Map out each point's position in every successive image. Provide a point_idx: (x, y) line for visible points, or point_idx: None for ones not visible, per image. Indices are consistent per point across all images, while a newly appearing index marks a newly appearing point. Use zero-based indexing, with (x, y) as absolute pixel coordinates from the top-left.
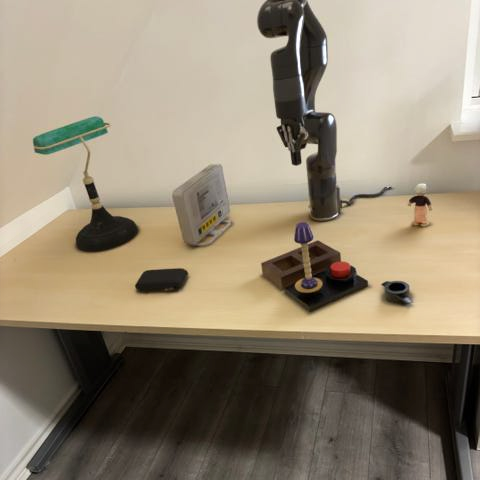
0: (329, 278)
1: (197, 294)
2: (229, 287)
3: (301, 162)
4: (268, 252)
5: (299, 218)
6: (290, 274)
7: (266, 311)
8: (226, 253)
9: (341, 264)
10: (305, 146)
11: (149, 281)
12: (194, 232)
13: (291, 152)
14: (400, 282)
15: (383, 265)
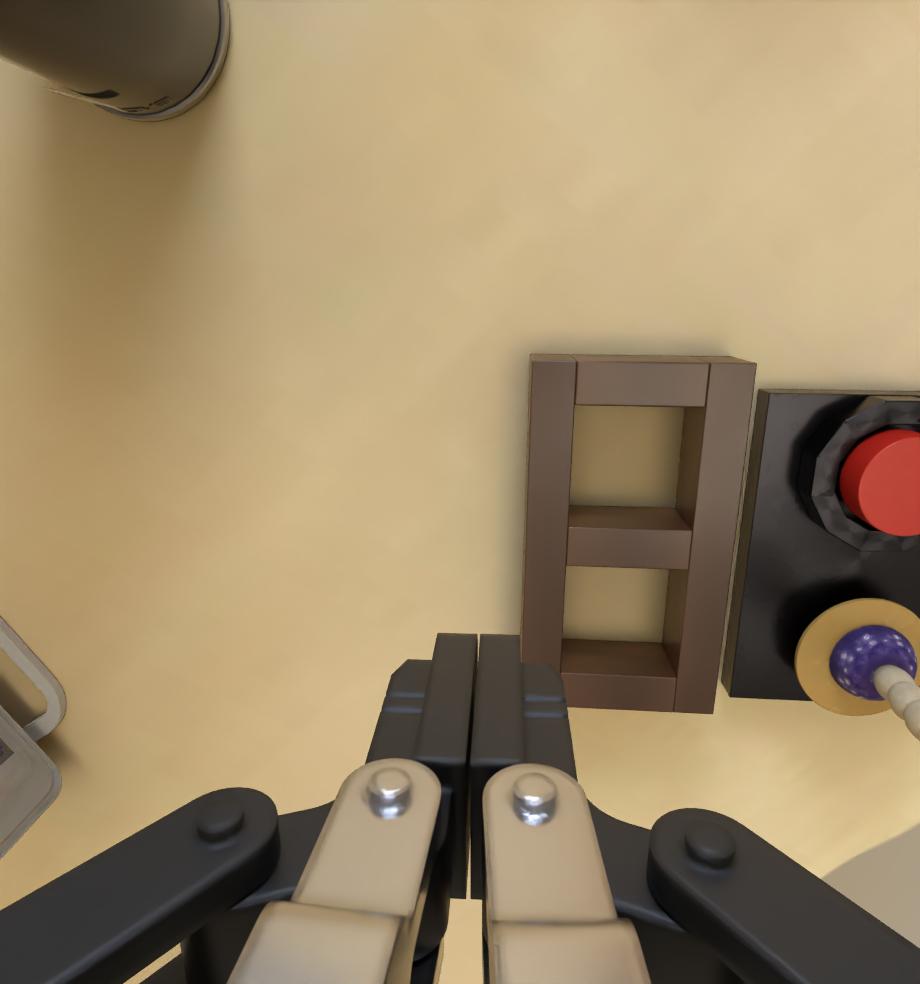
0: (889, 551)
1: (456, 906)
2: None
3: (519, 637)
4: (341, 537)
5: (73, 172)
6: (718, 664)
7: (773, 795)
8: (208, 679)
9: (906, 473)
10: (791, 871)
11: None
12: (11, 801)
13: (457, 889)
14: None
15: (915, 191)
